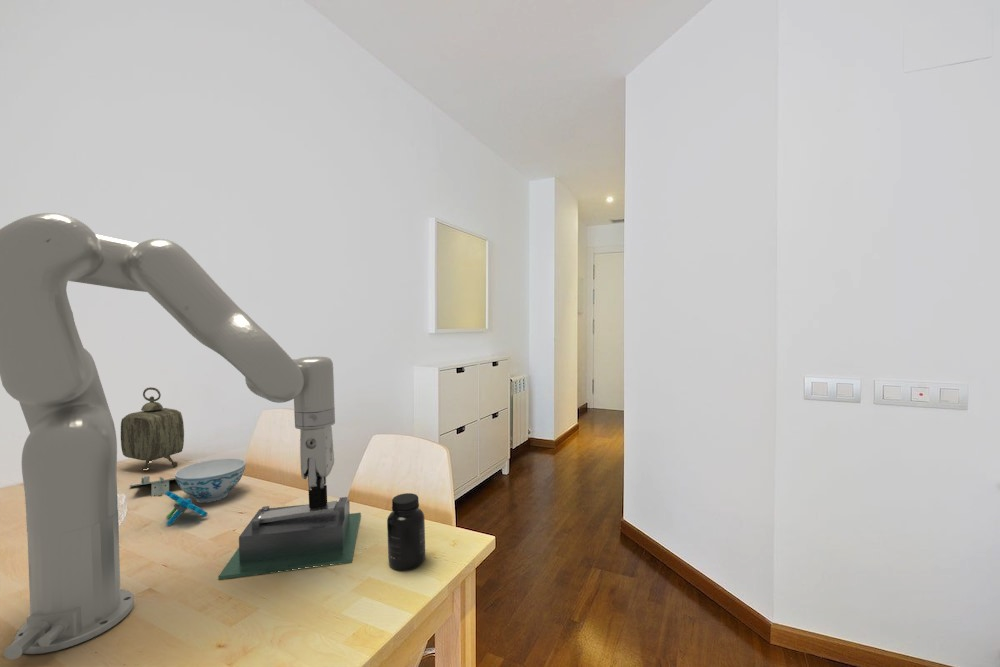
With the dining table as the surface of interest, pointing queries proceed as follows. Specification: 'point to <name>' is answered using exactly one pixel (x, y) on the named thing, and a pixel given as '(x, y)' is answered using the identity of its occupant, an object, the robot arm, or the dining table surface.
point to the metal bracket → (156, 485)
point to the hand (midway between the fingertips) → (318, 506)
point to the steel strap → (296, 512)
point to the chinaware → (210, 478)
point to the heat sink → (295, 542)
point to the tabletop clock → (152, 432)
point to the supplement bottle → (406, 533)
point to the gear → (182, 507)
